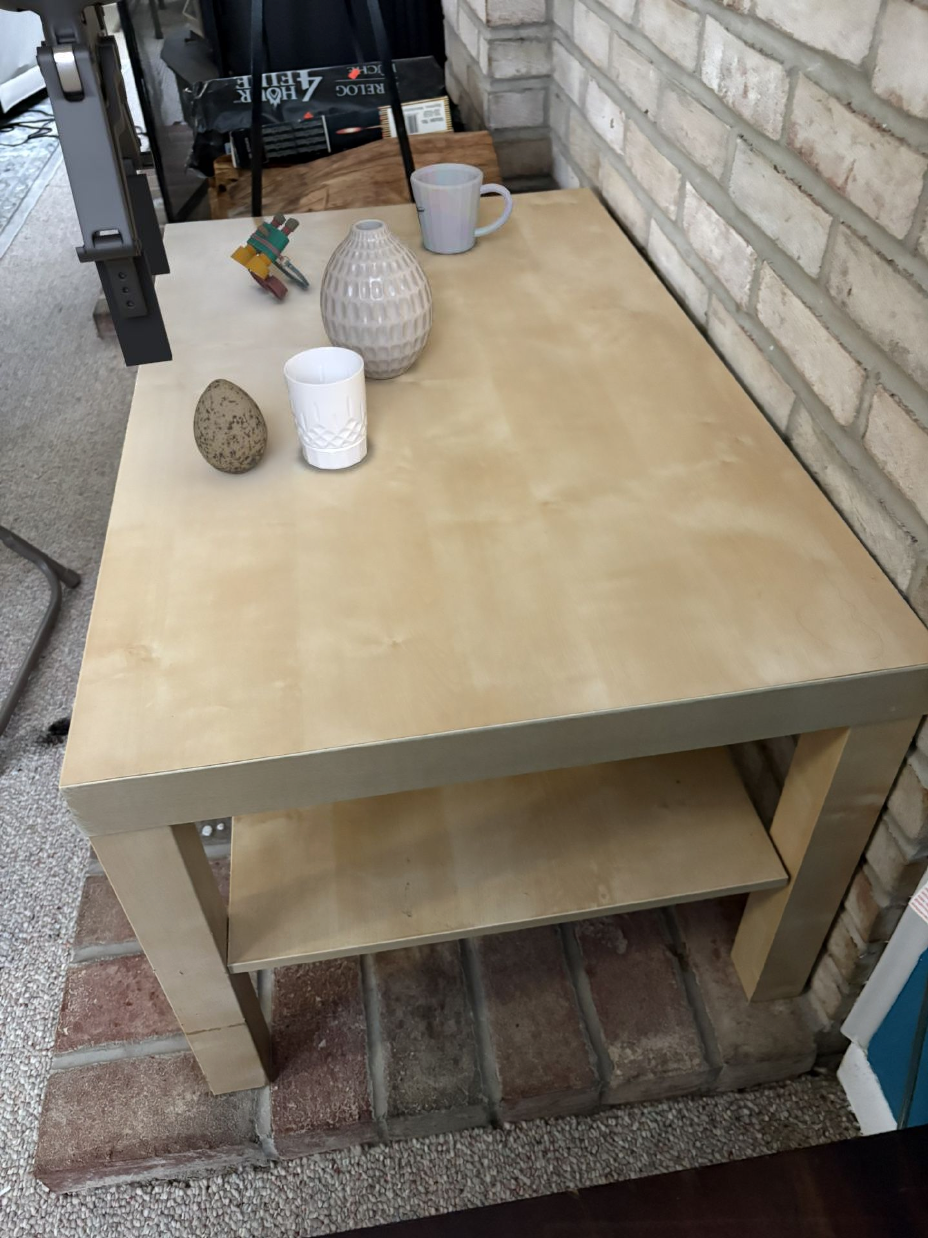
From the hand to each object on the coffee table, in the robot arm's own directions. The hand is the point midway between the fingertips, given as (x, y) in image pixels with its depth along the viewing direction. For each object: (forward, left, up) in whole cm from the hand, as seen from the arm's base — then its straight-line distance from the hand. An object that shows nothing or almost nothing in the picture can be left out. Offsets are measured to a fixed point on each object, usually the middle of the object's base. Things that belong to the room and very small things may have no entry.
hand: (150, 314), depth 61 cm
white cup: (+5, +25, -27) cm, 37 cm away
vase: (+7, +44, -27) cm, 52 cm away
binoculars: (-11, +65, -27) cm, 71 cm away
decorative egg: (-5, +22, -27) cm, 35 cm away
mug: (+14, +82, -27) cm, 87 cm away
